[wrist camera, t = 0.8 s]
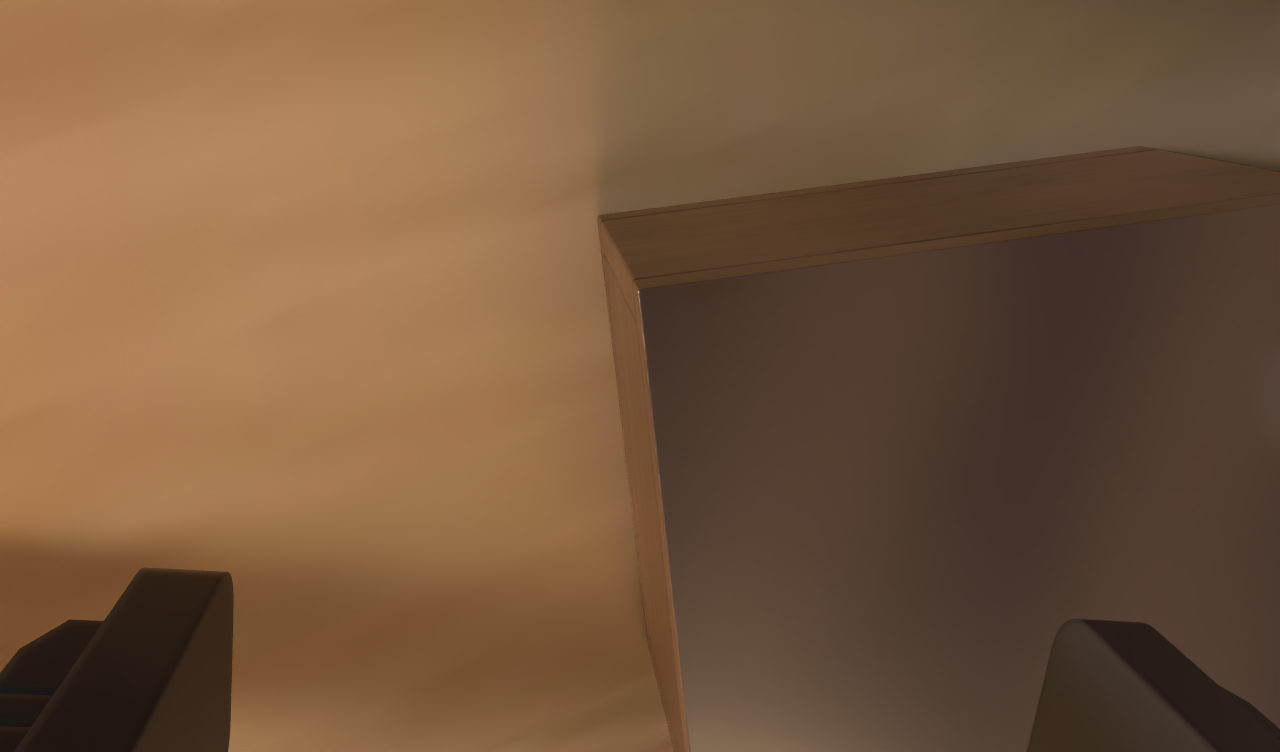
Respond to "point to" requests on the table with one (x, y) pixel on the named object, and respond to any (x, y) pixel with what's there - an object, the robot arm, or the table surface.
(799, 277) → the cabinet
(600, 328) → the table surface
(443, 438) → the table surface
